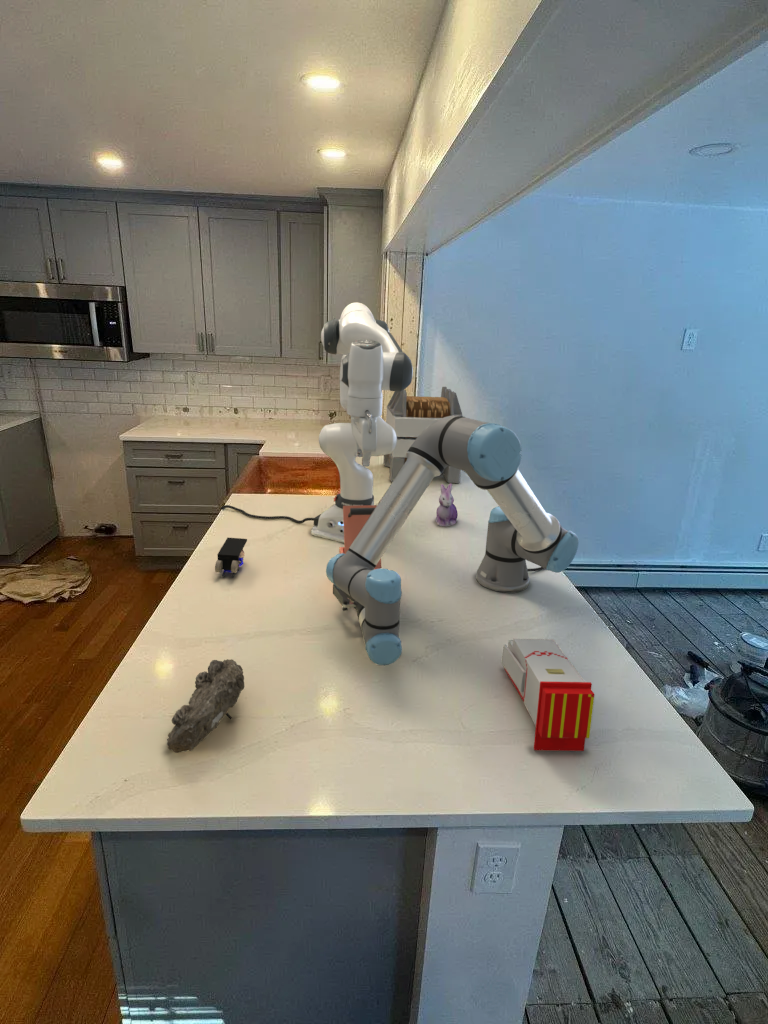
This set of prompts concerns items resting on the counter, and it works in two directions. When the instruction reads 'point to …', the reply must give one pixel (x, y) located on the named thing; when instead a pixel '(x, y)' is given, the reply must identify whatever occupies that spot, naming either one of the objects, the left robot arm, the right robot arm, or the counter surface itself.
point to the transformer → (417, 425)
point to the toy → (550, 693)
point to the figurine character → (230, 556)
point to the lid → (356, 523)
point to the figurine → (446, 508)
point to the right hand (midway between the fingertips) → (361, 574)
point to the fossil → (206, 705)
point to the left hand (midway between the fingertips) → (363, 460)
